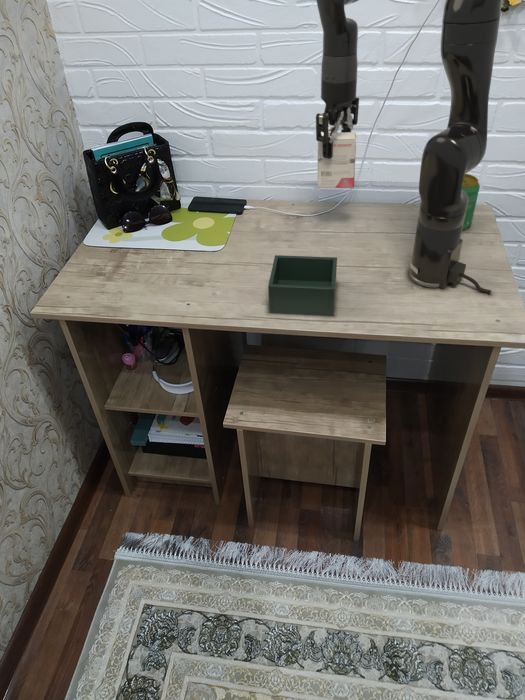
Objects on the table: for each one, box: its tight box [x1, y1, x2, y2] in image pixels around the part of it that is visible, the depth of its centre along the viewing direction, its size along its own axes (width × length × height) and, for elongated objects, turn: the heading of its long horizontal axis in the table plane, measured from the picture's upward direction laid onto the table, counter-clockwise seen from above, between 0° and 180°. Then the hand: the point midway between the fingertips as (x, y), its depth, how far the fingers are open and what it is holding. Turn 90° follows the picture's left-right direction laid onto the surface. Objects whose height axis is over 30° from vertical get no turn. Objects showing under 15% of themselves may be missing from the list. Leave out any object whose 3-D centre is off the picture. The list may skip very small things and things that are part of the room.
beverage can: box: [462, 173, 481, 232], centre depth 140 cm, size 8×8×12 cm
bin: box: [267, 254, 338, 317], centre depth 123 cm, size 14×12×7 cm
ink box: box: [317, 131, 357, 189], centre depth 133 cm, size 9×5×12 cm, turn 83°
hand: (336, 151), depth 132 cm, fingers closed on ink box, 7 cm apart
